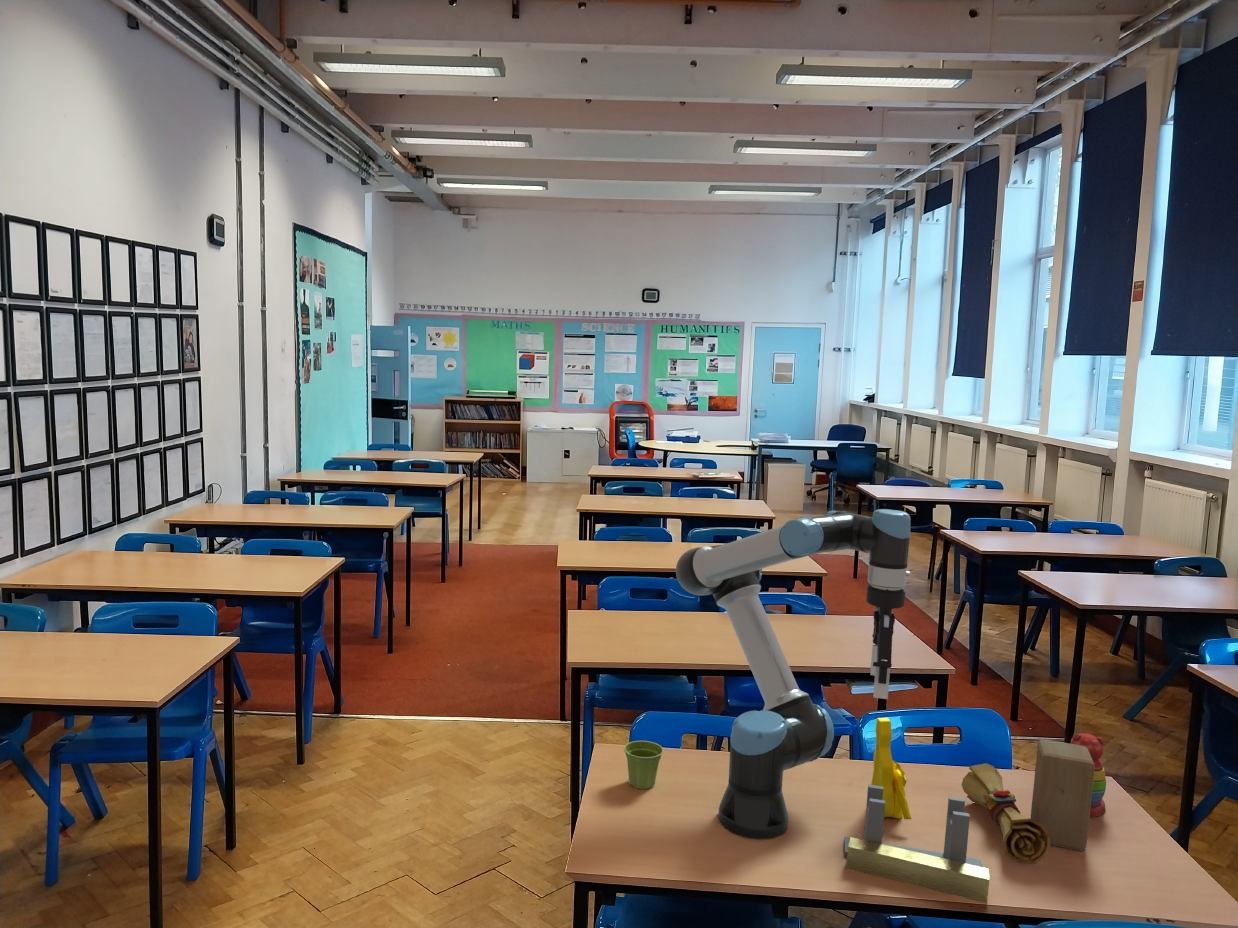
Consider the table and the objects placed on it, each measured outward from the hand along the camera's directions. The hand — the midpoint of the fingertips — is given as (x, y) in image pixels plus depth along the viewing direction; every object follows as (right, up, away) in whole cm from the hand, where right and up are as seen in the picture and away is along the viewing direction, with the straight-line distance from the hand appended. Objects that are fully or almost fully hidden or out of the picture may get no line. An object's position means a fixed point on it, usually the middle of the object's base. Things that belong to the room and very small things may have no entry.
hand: (878, 686), depth 176 cm
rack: (+6, -35, -1) cm, 36 cm away
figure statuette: (+7, -34, +18) cm, 39 cm away
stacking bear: (+55, -35, +25) cm, 70 cm away
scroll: (+31, -36, +12) cm, 48 cm away
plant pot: (-48, -30, +26) cm, 63 cm away
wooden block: (+42, -36, +10) cm, 56 cm away
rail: (+5, -36, -8) cm, 38 cm away
